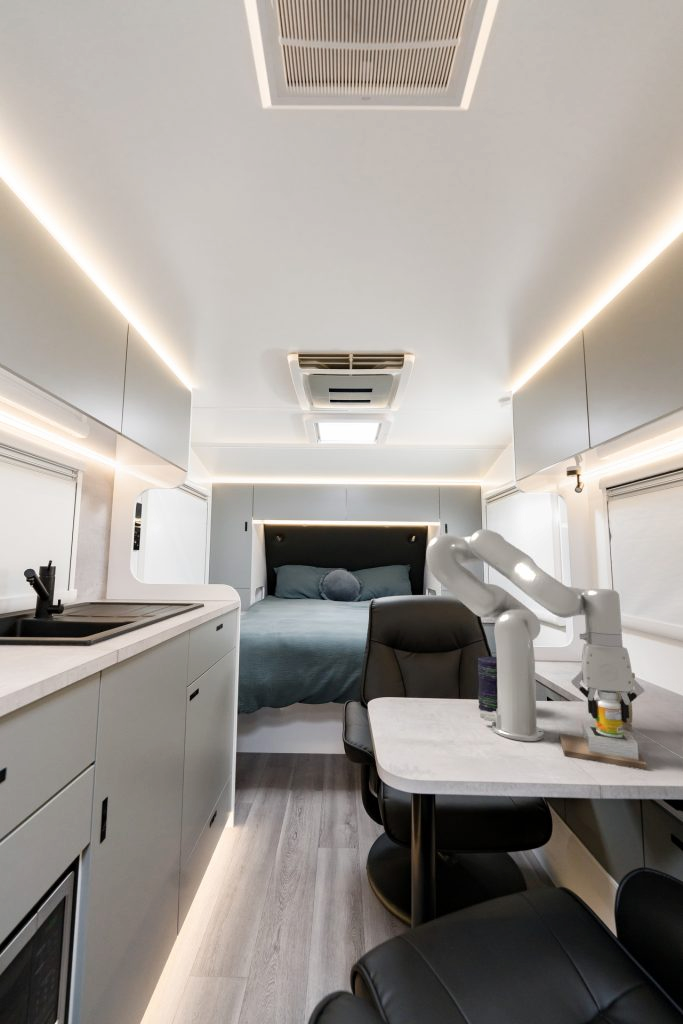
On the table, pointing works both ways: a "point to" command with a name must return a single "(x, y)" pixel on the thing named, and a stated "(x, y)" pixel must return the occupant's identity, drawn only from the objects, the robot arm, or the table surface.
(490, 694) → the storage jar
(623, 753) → the socket
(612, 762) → the mount plate
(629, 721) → the handle
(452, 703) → the table surface
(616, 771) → the table surface
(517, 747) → the table surface
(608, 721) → the supplement bottle
